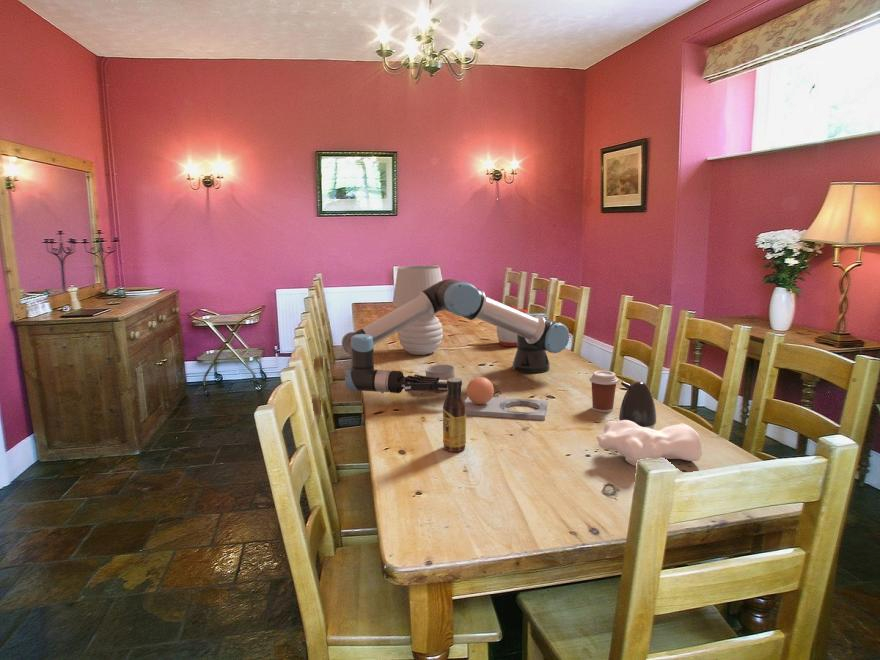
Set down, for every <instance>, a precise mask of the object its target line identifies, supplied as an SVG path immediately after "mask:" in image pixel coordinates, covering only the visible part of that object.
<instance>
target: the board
mask: <svg viewBox="0 0 880 660" xmlns="http://www.w3.org/2000/svg"><path fill="white" fill-rule="evenodd" d="M464 401H465V404H466V416H475V417H477V416H478V417H494V418H497V417H498V418H508V419H510V418H511V419H520V420H521V419H525V420H535V421H536V420H538V421H539V420H540V421H545V420H546V415H547V410H548V400H546V399H545V400H543V399H526V398H525V399H524V398H509V397H496V396H495V397H494V396H493V397H492V398H491V400H490V401H489V402H487V403H485V404H476V403H473V402H472V401H471V400H470V399H469V398H468V396H467V397H466V398H465V399H464ZM516 406H529V407H532V408H536V410H533V411H532V410H531V411H517V410H516V411H515V410H512V409H509V408H510V407H516Z"/></svg>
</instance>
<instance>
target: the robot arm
mask: <svg viewBox="0 0 880 660" xmlns="http://www.w3.org/2000/svg"><path fill="white" fill-rule="evenodd" d="M441 311H446V312H449V313H452V314H454V315H457V316H459V317H462V318H464V319H468V320H470V321H474V320H475V319H478V320H480V321H483V322H486V323H488V324H490V325H493V326H494V327H495V326H496V327H497V326H498V327H500V328H502V329H505V330H507V331H510V332H512V333H515V334H517V346H516V353H515V356H514V358H513V362H512V369H513V370H514V371H517V372H519V371H520V373H527V374H537V373H545V372H548V371H549V370H550V366H551V364H550V360H549V357H548V353H551V354H557V353H558V354H559V353H560V352H562V351H564V350H565V349H566V347H567V346H568V344H569V342H570V331H569V329H568V327H567V326H566V325H565V324H564V323H562V322H557V321H554V320H552V319H550V318H548V317H547V314H546V313H528V314H526V313H523V312H521V311H519V310H516V309H514V308H512V307H510V306H509V305H508V304H505V303H502V302H500V301H497V300H496V299H493V298H491V297H488V296H486V294H485V292H484V290H482V289H480V288H478V287H476V286H475V285H474V284H472V283H469V282H466V281H461V280H456V279H451V278H447V279H442V281H440V282H438V283H436V284H434V285H432V286H431V287H429V288H427V289H425V290H424V291H422V292H420V295H419V296H418V297H417V298H415V299H413V300H411V301H410V302H408V303H406V304H404V305H402V306H401V307H396V309H394V310H392V311H390V312H389V313H386V314H385V315H383V316H381V317H380V318H377V319H376V320H375V321H372V322H370V323H369V324H367V325H365V326H364V327H362V328H360V329H358V330H356V331H355V332H354V331H353V332H352V331H350V332H347V333H345V334H344V335H343V337H342V339H341V346H342V348H343V350H344V351H345V352H346V353H347V354H348V355H349V356H350V357H351V368H348V369H347V370H346V373H345V377H344V383H345V386H346V388H347V389H348V390H351V391H358V392H363V391H364V392H377V393H381V394H384V393H389V392H390V393H392V394H400V393H402V392H403V389H404V392H405V393H407V392H424V391H425V392H426V391H427V392H428V391H429V392H438V389H447V390H448V385H447V380H439V377H438V378H435V377H427V376H426V375H421V374H420V375H419V374H413V375H407V376H404V373H403V371H401V370H387V369H375V364H374V363H375V362H374V360H375V359H374V358H375V357H374V352H375V351H374V347H375V346H374V345H377V344H378V343H379V342H382V341H384V340H385V339H387V338H388V337H389V338H390V336H392V335H394V334H396V333H398V331H399V330H401V329H403V328H405V327H406V326H408V325H410V324H412V323H413V322H415V321H417V320H419V319H420V318H422V317H424V316H426V315H427V314H432V315H433V314H434V315H435V314H436V313H438V312H441Z"/></svg>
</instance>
